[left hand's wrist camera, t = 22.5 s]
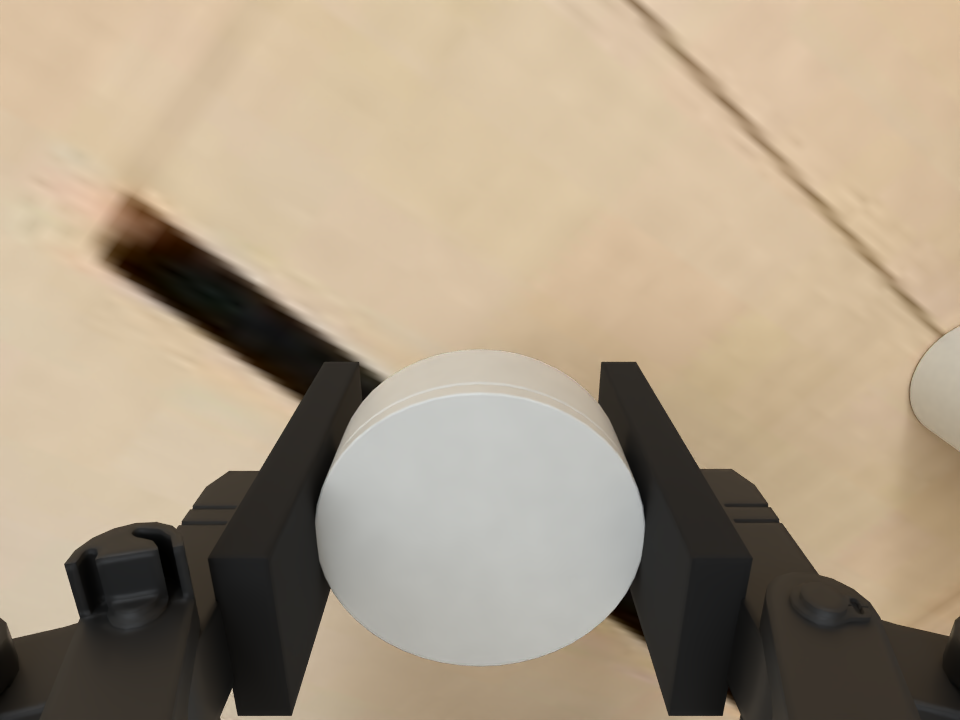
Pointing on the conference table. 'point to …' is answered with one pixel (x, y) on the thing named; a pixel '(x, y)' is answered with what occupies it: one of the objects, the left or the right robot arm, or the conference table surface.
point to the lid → (479, 511)
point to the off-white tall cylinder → (939, 389)
